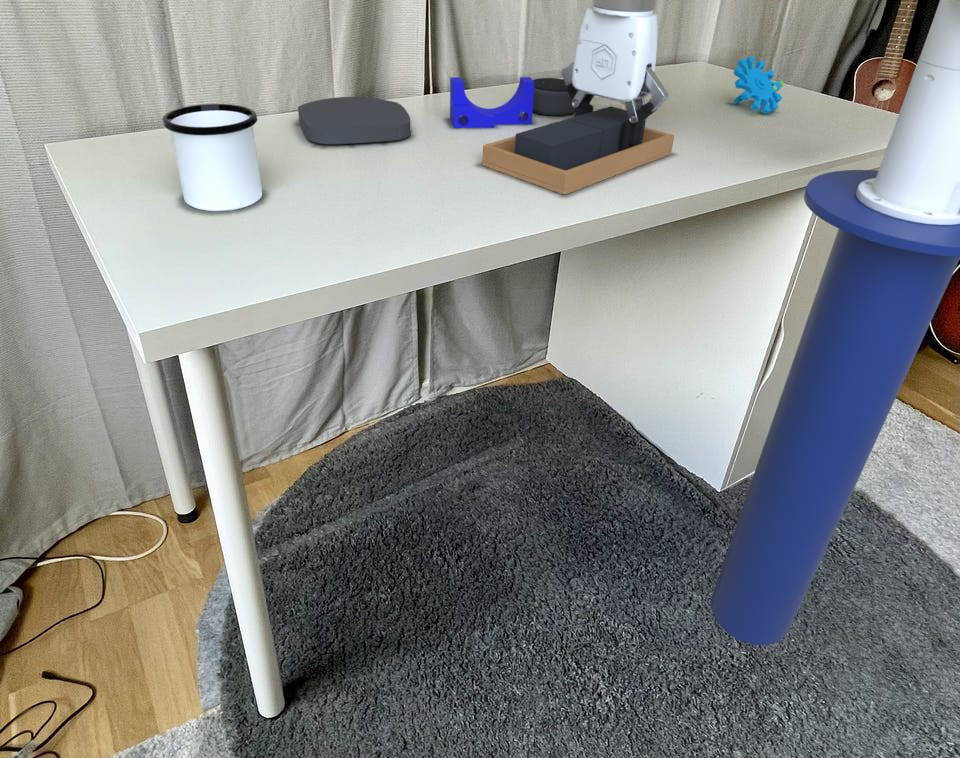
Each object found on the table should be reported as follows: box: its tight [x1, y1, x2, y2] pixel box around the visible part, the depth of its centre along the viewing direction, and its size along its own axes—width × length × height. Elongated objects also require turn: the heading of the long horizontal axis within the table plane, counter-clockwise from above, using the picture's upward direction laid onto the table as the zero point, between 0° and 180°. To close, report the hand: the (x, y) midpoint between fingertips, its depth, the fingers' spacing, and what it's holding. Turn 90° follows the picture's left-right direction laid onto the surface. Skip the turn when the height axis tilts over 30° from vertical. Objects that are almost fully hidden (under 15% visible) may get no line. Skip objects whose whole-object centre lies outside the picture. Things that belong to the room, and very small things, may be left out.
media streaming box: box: [297, 96, 412, 145], centre depth 103 cm, size 15×15×3 cm
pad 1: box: [515, 119, 602, 171], centre depth 92 cm, size 6×10×4 cm, turn 136°
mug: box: [161, 103, 263, 212], centre depth 79 cm, size 12×10×9 cm
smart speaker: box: [532, 77, 575, 117], centre depth 115 cm, size 9×9×4 cm
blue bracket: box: [449, 76, 535, 129], centre depth 107 cm, size 12×4×6 cm, turn 100°
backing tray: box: [481, 126, 675, 196], centre depth 96 cm, size 14×24×3 cm, turn 136°
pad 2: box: [566, 105, 647, 159], centre depth 99 cm, size 6×10×4 cm, turn 136°
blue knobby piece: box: [733, 55, 785, 115], centre depth 121 cm, size 11×6×10 cm
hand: (604, 142), depth 99 cm, fingers open, 7 cm apart
